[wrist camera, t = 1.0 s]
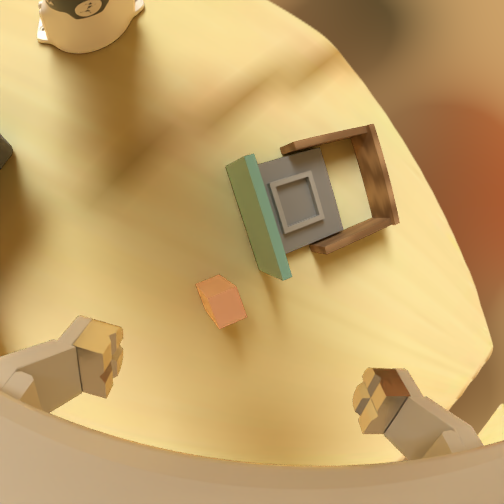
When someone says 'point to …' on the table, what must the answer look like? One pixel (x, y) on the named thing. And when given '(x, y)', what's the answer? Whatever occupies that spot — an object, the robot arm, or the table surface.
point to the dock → (373, 181)
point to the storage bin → (4, 151)
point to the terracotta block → (221, 301)
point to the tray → (284, 206)
